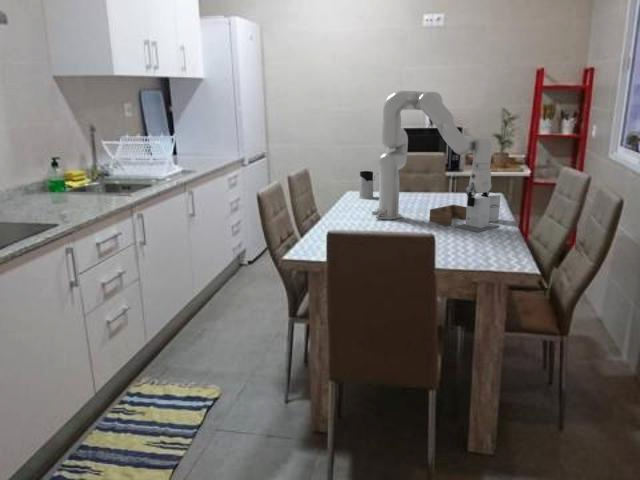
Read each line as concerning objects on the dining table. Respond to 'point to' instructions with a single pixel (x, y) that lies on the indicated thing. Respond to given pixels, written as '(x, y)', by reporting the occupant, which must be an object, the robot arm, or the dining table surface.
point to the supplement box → (493, 206)
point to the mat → (476, 229)
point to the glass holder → (366, 184)
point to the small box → (478, 212)
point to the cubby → (447, 214)
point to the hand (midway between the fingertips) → (477, 204)
